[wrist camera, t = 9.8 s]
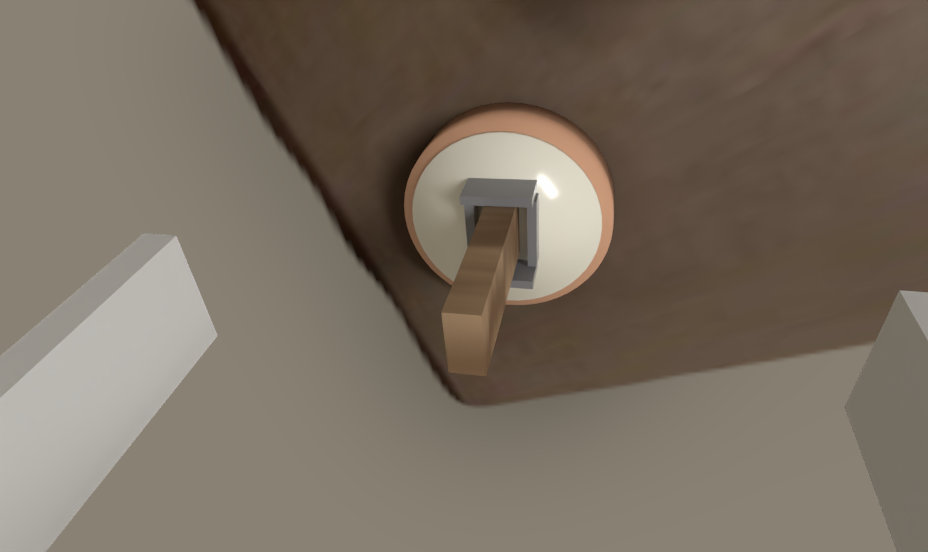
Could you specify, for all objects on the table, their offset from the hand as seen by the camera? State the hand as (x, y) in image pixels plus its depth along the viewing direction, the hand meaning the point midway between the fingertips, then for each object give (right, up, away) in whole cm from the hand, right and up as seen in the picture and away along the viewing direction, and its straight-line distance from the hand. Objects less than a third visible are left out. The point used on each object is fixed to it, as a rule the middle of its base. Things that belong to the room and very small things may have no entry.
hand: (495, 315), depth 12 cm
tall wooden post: (+2, +4, +28) cm, 29 cm away
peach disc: (+3, +6, +31) cm, 31 cm away
